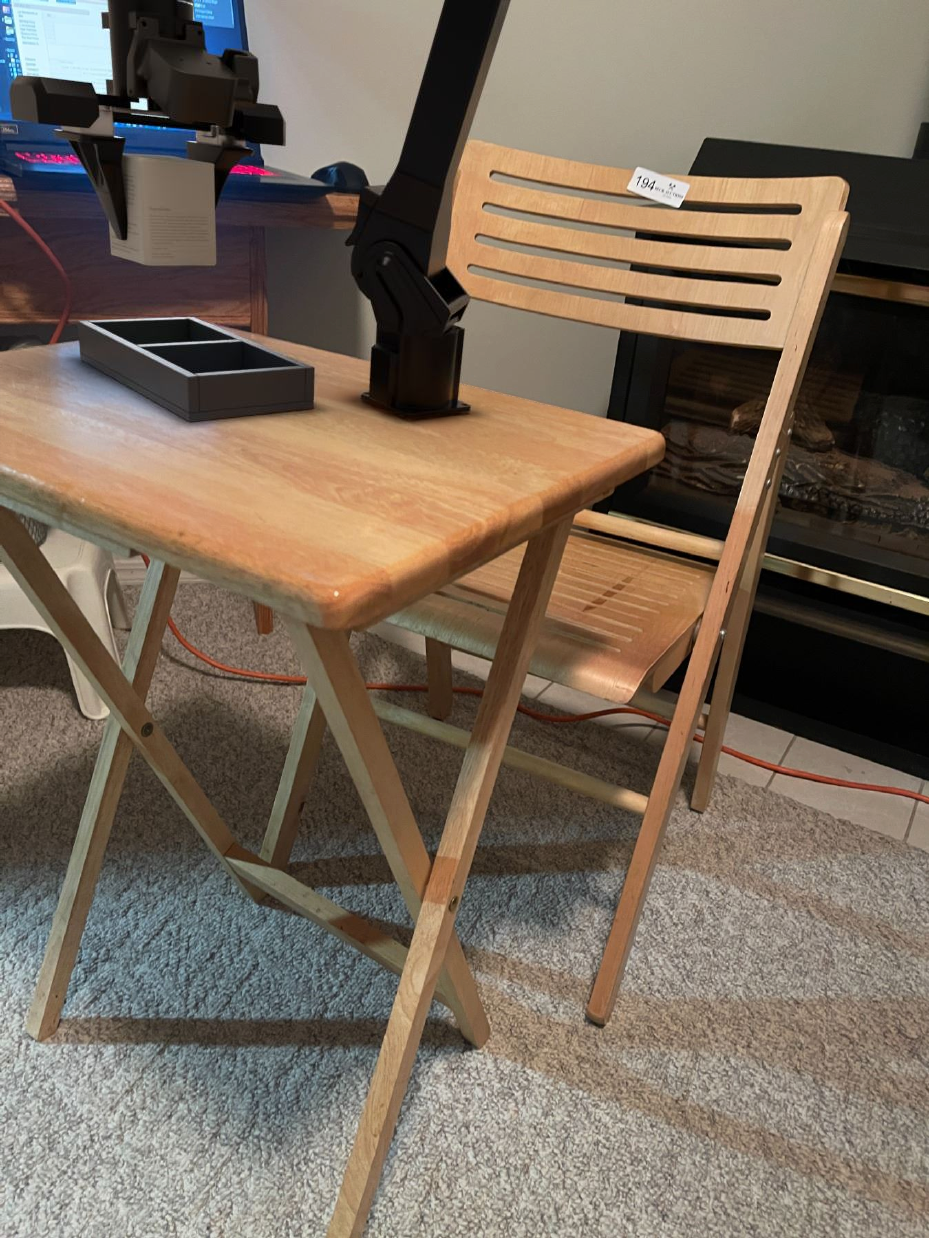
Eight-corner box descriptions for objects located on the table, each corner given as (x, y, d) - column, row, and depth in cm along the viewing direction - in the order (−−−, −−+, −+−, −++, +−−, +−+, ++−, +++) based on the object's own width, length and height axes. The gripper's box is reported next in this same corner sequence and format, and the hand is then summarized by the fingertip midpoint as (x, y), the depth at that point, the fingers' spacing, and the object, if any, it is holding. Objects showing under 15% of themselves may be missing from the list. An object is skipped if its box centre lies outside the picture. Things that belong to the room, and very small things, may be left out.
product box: (218, 267, 73) (216, 163, 69) (143, 267, 69) (137, 157, 66) (181, 255, 77) (177, 156, 73) (108, 255, 73) (101, 150, 69)
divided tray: (194, 352, 83) (193, 316, 82) (314, 408, 71) (315, 367, 69) (80, 359, 77) (76, 320, 76) (189, 422, 64) (187, 377, 63)
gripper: (57, -32, 54) (81, 255, 61) (328, 20, 66) (322, 257, 73) (-7, -24, 61) (21, 232, 68) (248, 22, 73) (249, 237, 80)
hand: (162, 240), depth 72 cm, fingers closed on product box, 6 cm apart
